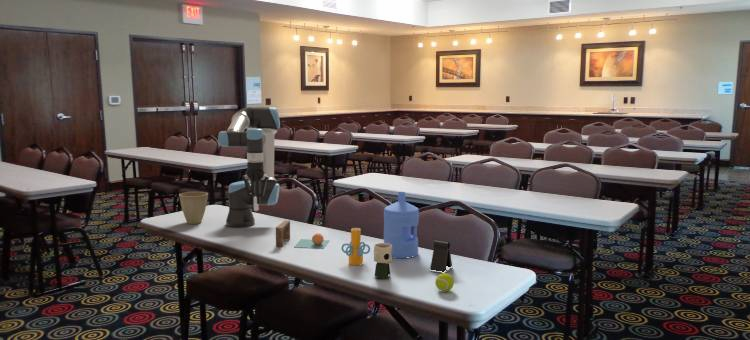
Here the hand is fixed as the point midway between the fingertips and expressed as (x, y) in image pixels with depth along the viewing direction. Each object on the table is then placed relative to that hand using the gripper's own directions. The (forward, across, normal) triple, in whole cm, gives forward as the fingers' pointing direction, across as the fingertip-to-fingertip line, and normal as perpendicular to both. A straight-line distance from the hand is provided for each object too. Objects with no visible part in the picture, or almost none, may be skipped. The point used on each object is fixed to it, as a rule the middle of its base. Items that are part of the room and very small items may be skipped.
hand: (256, 210), depth 268 cm
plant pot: (+16, -46, +33) cm, 59 cm away
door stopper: (+16, +88, -30) cm, 94 cm away
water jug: (+16, +70, -10) cm, 72 cm away
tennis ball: (+16, +89, -55) cm, 106 cm away
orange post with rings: (+16, +52, -27) cm, 61 cm away
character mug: (+16, +65, -43) cm, 79 cm away
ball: (+13, +30, -1) cm, 33 cm away
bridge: (+15, +13, 0) cm, 20 cm away
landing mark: (+15, +27, 0) cm, 31 cm away
